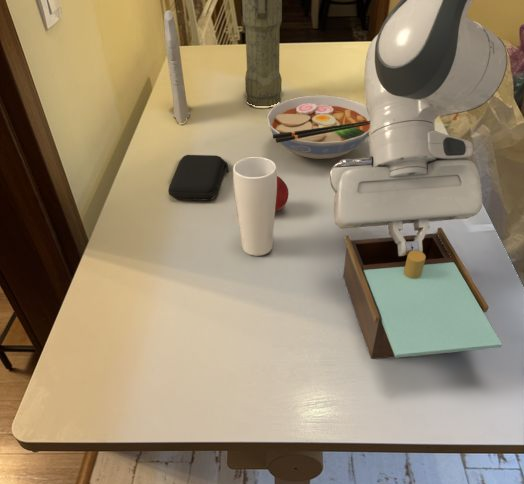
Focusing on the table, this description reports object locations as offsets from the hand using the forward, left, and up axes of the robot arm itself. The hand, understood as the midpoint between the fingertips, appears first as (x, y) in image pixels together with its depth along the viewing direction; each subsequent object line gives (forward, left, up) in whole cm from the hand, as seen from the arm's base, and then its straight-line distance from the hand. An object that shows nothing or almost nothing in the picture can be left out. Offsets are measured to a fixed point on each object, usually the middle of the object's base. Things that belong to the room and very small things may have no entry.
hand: (410, 255), depth 72 cm
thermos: (+12, -78, -10) cm, 80 cm away
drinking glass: (+20, -17, -10) cm, 28 cm away
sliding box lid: (0, +8, -2) cm, 8 cm away
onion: (+16, -28, -10) cm, 34 cm away
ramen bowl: (+3, -50, -10) cm, 51 cm away
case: (0, +1, -9) cm, 9 cm away
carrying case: (+29, -40, -10) cm, 51 cm away
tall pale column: (+33, -73, -10) cm, 80 cm away
